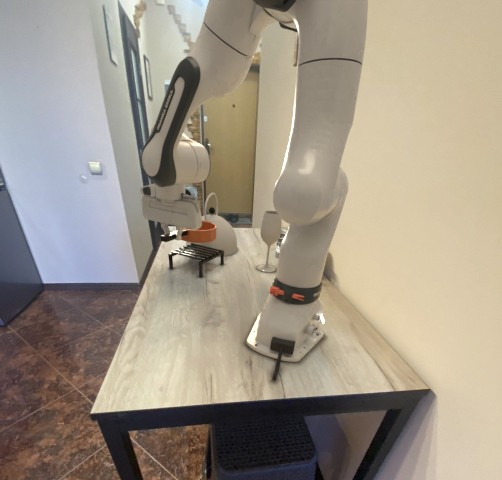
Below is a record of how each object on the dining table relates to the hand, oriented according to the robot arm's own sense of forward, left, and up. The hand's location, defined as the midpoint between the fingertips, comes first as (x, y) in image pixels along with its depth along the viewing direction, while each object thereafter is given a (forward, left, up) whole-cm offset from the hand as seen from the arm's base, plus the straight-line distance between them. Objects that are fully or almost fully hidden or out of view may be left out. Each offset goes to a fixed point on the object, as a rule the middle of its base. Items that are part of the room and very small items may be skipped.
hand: (173, 238), depth 92 cm
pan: (+8, 0, -2) cm, 8 cm away
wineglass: (+27, -23, -14) cm, 38 cm away
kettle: (+34, +7, -14) cm, 37 cm away
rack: (+13, 0, -13) cm, 19 cm away
